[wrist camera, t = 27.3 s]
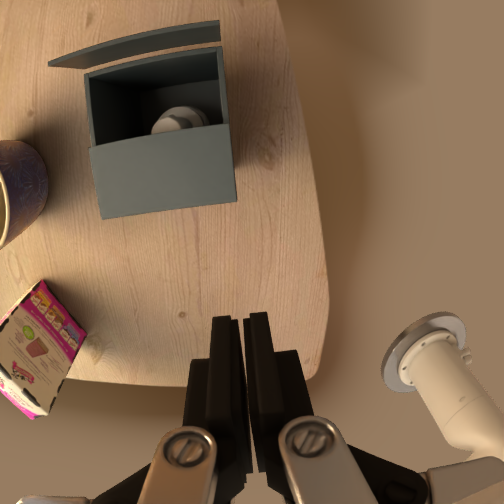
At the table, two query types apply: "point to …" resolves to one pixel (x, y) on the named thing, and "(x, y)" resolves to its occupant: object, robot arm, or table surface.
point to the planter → (20, 188)
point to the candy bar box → (37, 350)
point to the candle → (180, 119)
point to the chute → (151, 80)
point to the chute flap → (164, 171)
